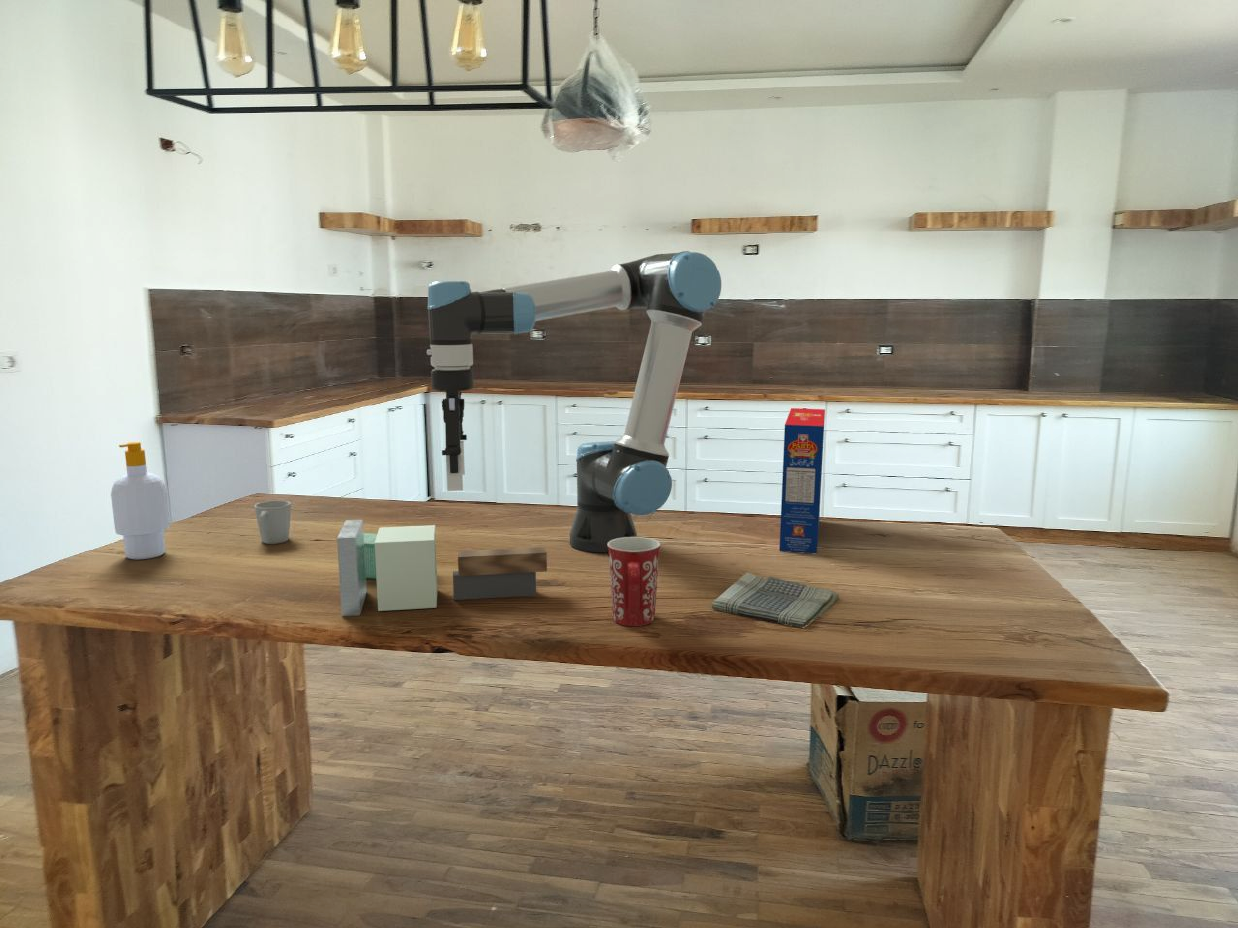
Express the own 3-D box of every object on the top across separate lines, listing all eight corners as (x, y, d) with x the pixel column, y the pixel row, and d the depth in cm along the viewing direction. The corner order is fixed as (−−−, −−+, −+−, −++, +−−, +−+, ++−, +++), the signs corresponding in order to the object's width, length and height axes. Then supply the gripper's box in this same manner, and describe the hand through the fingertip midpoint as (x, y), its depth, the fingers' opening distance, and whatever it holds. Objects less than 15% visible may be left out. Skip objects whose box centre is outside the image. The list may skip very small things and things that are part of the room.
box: (410, 582, 165) (409, 545, 164) (346, 578, 168) (344, 541, 166) (426, 571, 172) (425, 535, 171) (365, 566, 175) (363, 531, 173)
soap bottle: (106, 558, 178) (93, 445, 174) (149, 545, 188) (138, 437, 183) (141, 564, 175) (129, 448, 170) (184, 551, 184) (173, 440, 179)
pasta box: (786, 519, 213) (791, 408, 208) (819, 521, 211) (825, 409, 206) (779, 551, 186) (784, 424, 181) (816, 553, 185) (823, 426, 179)
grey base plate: (366, 591, 159) (362, 519, 157) (359, 615, 148) (355, 537, 145) (349, 592, 159) (345, 520, 156) (341, 616, 147) (336, 538, 145)
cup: (299, 536, 196) (296, 500, 194) (280, 549, 186) (277, 511, 184) (266, 535, 196) (263, 499, 195) (245, 548, 186) (242, 510, 185)
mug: (608, 608, 152) (608, 535, 149) (659, 609, 151) (660, 536, 149) (603, 636, 139) (603, 557, 137) (659, 637, 139) (660, 558, 136)
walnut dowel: (544, 565, 161) (544, 546, 160) (546, 571, 157) (546, 552, 156) (458, 569, 158) (457, 551, 157) (458, 576, 154) (457, 557, 153)
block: (437, 588, 161) (435, 525, 158) (436, 607, 151) (433, 540, 149) (382, 591, 159) (379, 527, 157) (378, 610, 149) (374, 542, 147)
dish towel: (806, 633, 142) (806, 614, 142) (709, 612, 152) (709, 595, 151) (841, 600, 158) (841, 583, 157) (751, 583, 167) (751, 567, 167)
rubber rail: (534, 590, 161) (534, 566, 160) (536, 595, 158) (535, 570, 157) (453, 595, 158) (452, 571, 157) (453, 600, 155) (452, 575, 155)
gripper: (434, 362, 166) (439, 469, 171) (426, 374, 142) (431, 498, 146) (473, 362, 167) (477, 468, 172) (471, 373, 143) (476, 496, 147)
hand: (456, 482), depth 159 cm, fingers open, 13 cm apart
